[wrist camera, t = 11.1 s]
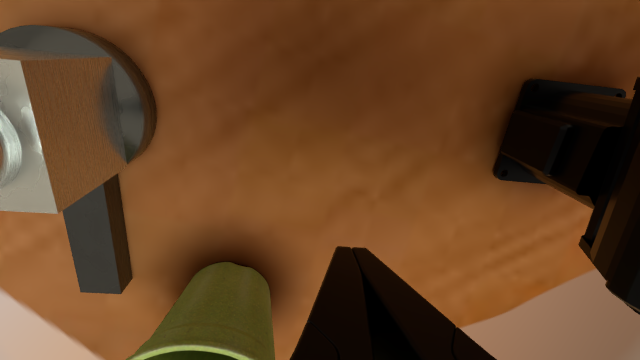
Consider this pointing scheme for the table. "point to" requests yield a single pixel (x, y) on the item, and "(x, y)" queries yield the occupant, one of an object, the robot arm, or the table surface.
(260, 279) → the plant pot
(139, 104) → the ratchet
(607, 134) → the robot arm
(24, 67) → the block with round boss
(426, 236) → the table surface
